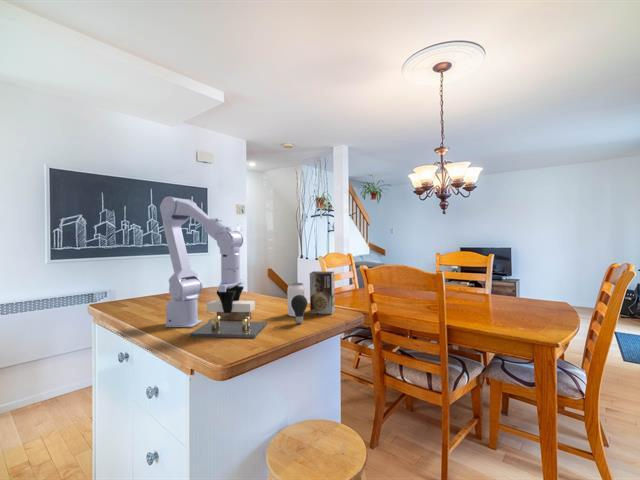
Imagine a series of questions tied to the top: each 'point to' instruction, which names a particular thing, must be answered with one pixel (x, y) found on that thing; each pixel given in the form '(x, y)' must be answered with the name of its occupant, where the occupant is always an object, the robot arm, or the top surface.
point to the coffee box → (322, 292)
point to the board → (236, 306)
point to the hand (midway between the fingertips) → (230, 310)
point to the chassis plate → (229, 329)
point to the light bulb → (299, 307)
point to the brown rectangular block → (233, 315)
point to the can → (292, 292)
